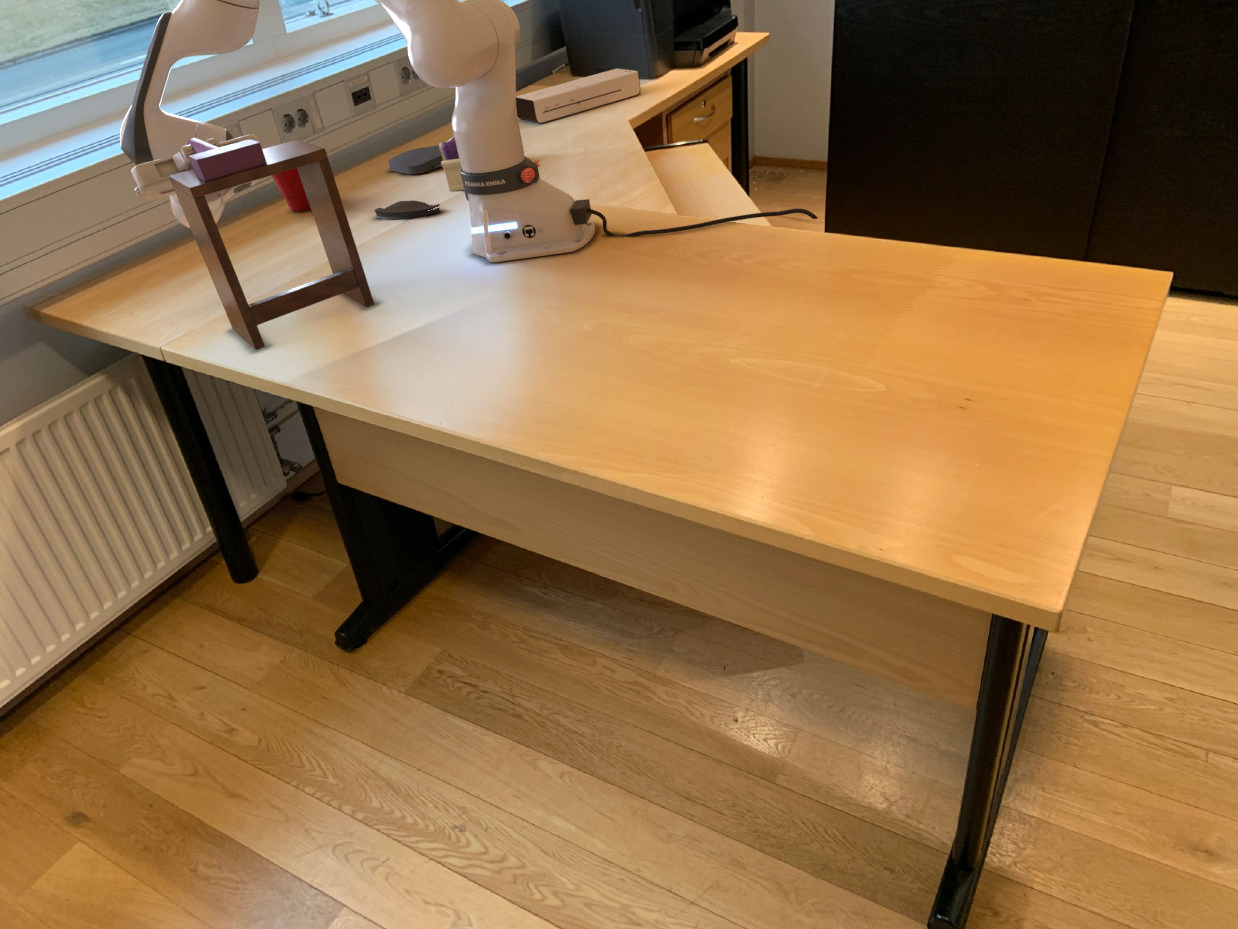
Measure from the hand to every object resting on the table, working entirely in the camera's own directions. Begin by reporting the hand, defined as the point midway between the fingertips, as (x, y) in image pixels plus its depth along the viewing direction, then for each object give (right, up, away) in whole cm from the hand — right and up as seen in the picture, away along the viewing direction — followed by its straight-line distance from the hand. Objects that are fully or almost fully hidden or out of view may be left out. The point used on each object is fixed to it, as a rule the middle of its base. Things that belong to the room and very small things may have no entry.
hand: (201, 146), depth 137 cm
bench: (+13, -25, +8) cm, 29 cm away
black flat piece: (+20, +3, +49) cm, 53 cm away
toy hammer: (+4, -4, -4) cm, 6 cm away
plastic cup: (-7, +9, +64) cm, 65 cm away
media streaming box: (+17, +24, +81) cm, 86 cm away
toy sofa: (+33, +16, +65) cm, 75 cm away
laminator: (+53, +51, +111) cm, 133 cm away
